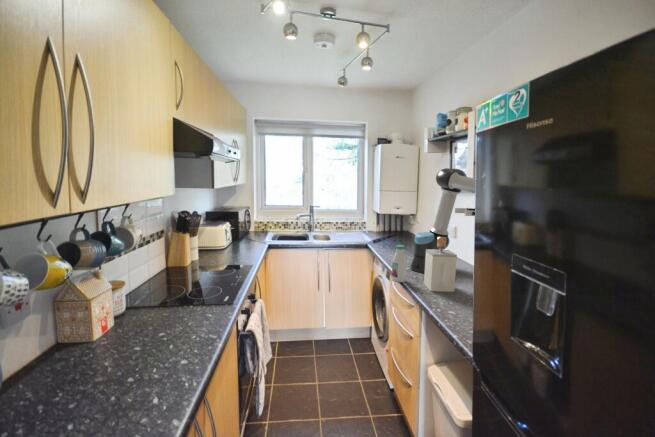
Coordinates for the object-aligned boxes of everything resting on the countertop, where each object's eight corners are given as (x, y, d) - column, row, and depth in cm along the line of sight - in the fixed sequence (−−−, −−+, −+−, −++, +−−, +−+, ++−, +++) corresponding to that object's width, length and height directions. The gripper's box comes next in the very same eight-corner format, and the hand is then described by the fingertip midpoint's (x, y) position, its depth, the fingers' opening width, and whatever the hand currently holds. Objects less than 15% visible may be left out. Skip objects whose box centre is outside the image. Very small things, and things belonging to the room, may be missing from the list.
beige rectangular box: (423, 283, 176) (426, 249, 173) (445, 284, 175) (448, 249, 173) (432, 293, 160) (435, 255, 158) (456, 294, 160) (459, 256, 158)
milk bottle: (404, 279, 183) (406, 244, 181) (406, 283, 176) (408, 247, 173) (391, 278, 184) (392, 244, 182) (392, 282, 176) (394, 246, 174)
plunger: (430, 283, 173) (433, 236, 170) (442, 283, 173) (446, 236, 170) (434, 287, 166) (437, 238, 163) (447, 288, 166) (450, 238, 163)
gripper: (512, 222, 158) (469, 221, 159) (488, 217, 183) (450, 216, 183) (513, 207, 158) (470, 206, 158) (489, 203, 182) (451, 203, 183)
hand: (459, 211), depth 171 cm, fingers open, 13 cm apart
